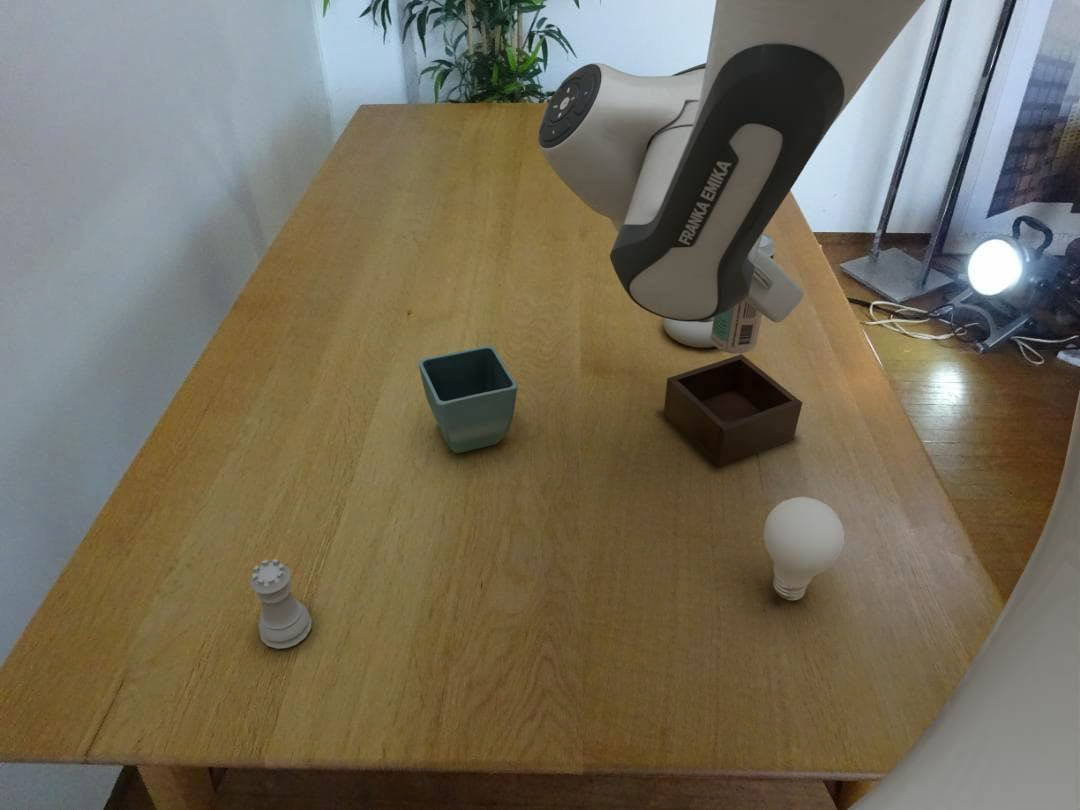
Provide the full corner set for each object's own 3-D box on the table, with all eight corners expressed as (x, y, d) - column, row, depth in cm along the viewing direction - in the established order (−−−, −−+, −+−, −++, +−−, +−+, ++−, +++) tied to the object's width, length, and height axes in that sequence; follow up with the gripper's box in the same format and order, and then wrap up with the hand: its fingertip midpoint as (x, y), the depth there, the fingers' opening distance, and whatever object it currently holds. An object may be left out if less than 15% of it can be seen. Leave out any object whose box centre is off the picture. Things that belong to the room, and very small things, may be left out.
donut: (706, 307, 115) (647, 323, 111) (709, 285, 112) (649, 301, 109) (751, 341, 108) (689, 360, 104) (755, 319, 105) (693, 337, 102)
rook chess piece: (261, 657, 69) (239, 597, 64) (260, 616, 72) (239, 556, 68) (314, 644, 70) (297, 584, 65) (311, 605, 73) (294, 545, 69)
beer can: (762, 339, 84) (783, 234, 77) (747, 361, 81) (767, 254, 74) (718, 326, 86) (735, 223, 79) (702, 348, 83) (717, 242, 76)
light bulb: (822, 631, 71) (851, 546, 64) (745, 611, 73) (766, 526, 66) (826, 575, 76) (853, 490, 69) (754, 558, 78) (774, 474, 71)
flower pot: (495, 405, 97) (492, 343, 91) (520, 450, 90) (519, 386, 85) (424, 422, 94) (416, 359, 89) (444, 470, 88) (438, 405, 82)
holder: (793, 439, 91) (802, 402, 88) (717, 468, 88) (724, 430, 84) (735, 389, 99) (741, 353, 96) (663, 414, 95) (667, 378, 92)
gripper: (778, 232, 63) (845, 310, 72) (636, 147, 77) (707, 221, 86) (724, 296, 64) (796, 364, 73) (594, 200, 78) (668, 268, 88)
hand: (747, 286), depth 80 cm, fingers closed on beer can, 5 cm apart
